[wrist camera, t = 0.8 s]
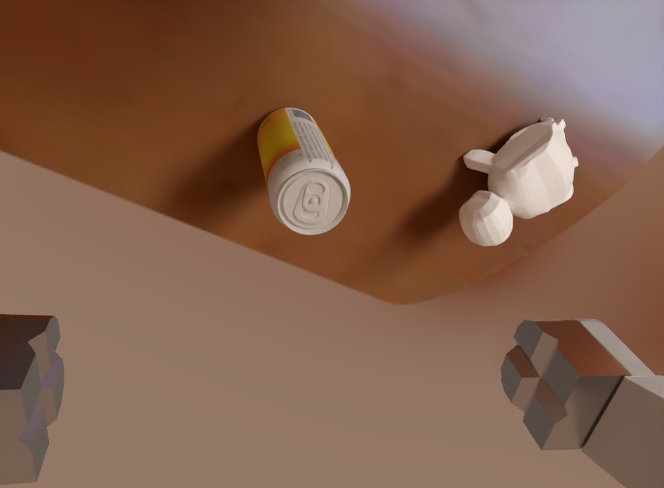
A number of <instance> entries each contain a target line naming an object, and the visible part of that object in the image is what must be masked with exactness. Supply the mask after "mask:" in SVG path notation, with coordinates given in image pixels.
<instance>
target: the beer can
mask: <svg viewBox="0 0 664 488" xmlns="http://www.w3.org/2000/svg"><path fill="white" fill-rule="evenodd" d="M257 144H258V149H259V153H260V158H261V162H262V167H263V172H264V176H265V181H266V185H267V190H268V194H269V199H270V204H271V208H272V211H273V213H274V215H275V216H276V218H277V219H278V220H279V221H280V222H281V223H282V224H283V225H285V226H286V227H288V228H290V229H291V230H293V231H295V232H297V233H300V234H305V235H316V234H321V233H324V232H326V231H328V230H330V229H332V228H333V227H335V226H336V225H337V224H338V223H339V222H340V221H341V220H342V218H343V217H344V215H345V213H346V211H347V207H348V204H349V201H350V185H349V182H348V179H347V177H346V175H345V173H344V172H343V170H342V168H341V166H340V164H339V163H338V161H337V159H336V157H335V155H334V154H333V152H332V150H331V148H330V146H329V145H328V143H327V141H326V139H325V137H324V136H323V134H322V132H321V130H320V128H319V127H318V125H317V123H316V121H315V120H314V119H313V118H312V116H310V115H309V114H308V113H306V112H305V111H303V110H300V109H297V108H282V109H279V110H276V111H274V112H272V113H271V114H270V115H268V116H267V117H266V118H265V119H264V121H263V122H262V124H261V125H260V127H259V130H258V135H257Z"/></svg>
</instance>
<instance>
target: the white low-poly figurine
mask: <svg viewBox="0 0 664 488" xmlns="http://www.w3.org/2000/svg"><path fill="white" fill-rule="evenodd" d="M540 121H541V123H536V124H533V125H530V126H528V127H526V128H524V129H522V130H520V131H518V132H517V133H515V134H514V135H512V136H511V138H510V139H509V140H508V141H507V142H506V144H505V145H504V146H502V148H501V149H500V150H499V151H498V152H497V153H496V154H494V153H491V152H489V151H484V150H470V151H469V152H467V153H466V154H465V155H464V156H463V159H464V163H465V164H466V166H467V167H468V168H470V169H474V170H477V171H480V172H484V173H487V174H488V189H489V191H477V192H476V193H474V194H473V195H472V197H471V198H470V199H469V200H468V201H466V202H465V203H464V204H463V205H462V207H461V208H460V210H459V218H460V225H461V228H462V230H463V232H464V233H465V235H466V236H467V237H468V239H469V240H470V241H472V242H473V243H476V244H478V245H481V246H496V245H498V244H500V243H502V242H504V241H505V240H506V239H507V238H508V237H509V235H510V233H511V231H512V227H513V217H512V214H513V215H515V216H519V217H521V218H524V219H530V218H532V217H534V216H537V215H539V214H542V213H545V212H548V211H549V210H550V209H551V208H553V207H555V206H557V205H559V204H561V203H563V202H565V201H567V200H568V199H570V198H571V196H572V194H573V185H572V182H573V175H574V167H576V166H578V161H577V158H576V157H573V156H572V154H571V150H570V148H569V146H568V145H567V143H566V140H565V134H564V130H563V129H564V128H565V126H566V125H565V122H564V120H563V119H559V120H555V121H554V120H553V118H550V117H548V118H544V117H542V118H541V119H540Z"/></svg>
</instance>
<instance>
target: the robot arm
mask: <svg viewBox="0 0 664 488" xmlns="http://www.w3.org/2000/svg"><path fill="white" fill-rule="evenodd" d="M514 338H515V341H516V344H517V345H516V346H515V347H514V348H513V349H512V350H511V351H510V352H508V353H507V354H506V356H505V359H504V361H503V364H502V367H501V377H502V378H501V381H502V385H503V388H504V391H505V393H506V395H507V396H508V398H509V399H510V402H511V403H512V404H514V405H515V406H517V407H518V408H520V409H521V410H522V411H524V417H523V422H524V424H525V425H526V427H527V429H528V430H529V432H530V433H531V435H532V436H533V438H534V439H535V441H536V443H537V444H538V446H539V447H540V449H541V450H568V449H583V450H582V452H583V453H584V454H586V455H587V456H588V457H589V458H590V459H592V460H593V461H594V462H595V463H596V464H598V465H599V466H600V467H601V468H603V469H604V470H605V471H606V472H607V473H609V474H610V475H611V476H612V477H614V478H615V479H616V480H617V481H618V482H620V483H621V484H622V485H623V486H625V487H626V488H664V376H655V375H654V374H653V373H652V372H651V371H650V370H649V369H648V368H647V367H646V366H645V365H644V364H643V363H642V362H641V361H640V360H639V359H638V358H637V357H636V356H635V355H634V354H633V353H632V352H631V351H630V350H629V349H628V348H627V347H626V346H625V345H624V344H623V343H622V342H621V341H620V340H619V339H618V338H617V337H616V336H615V335H614V334H613V333H612V332H611V331H610V330H609V329H608V328H607V327H606V326H605V325H604V324H603V323H602V322H600V321H598V320H595V319H570V320H524V321H523V322H522V323H521V324H520V325H519V326H518V327H517V330H516V332H515V334H514ZM59 339H60V331H59V324H58V320H57V318H56V317H55V316H43V315H7V314H6V315H5V314H0V485H8V484H19V483H30V482H37V479H38V476H39V473H40V470H41V467H42V463H43V460H44V457H45V454H46V451H47V448H48V445H49V439H48V432H47V427H48V426H49V425H50V424H51V423H52V422H54V421H55V420H56V419H57V416H58V413H59V409H60V406H61V401H62V395H63V388H64V364H63V359H62V358H61V357H60V356H59V355H58V354H57V353H56V352H55V351H56V348H57V345H58V342H59Z"/></svg>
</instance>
